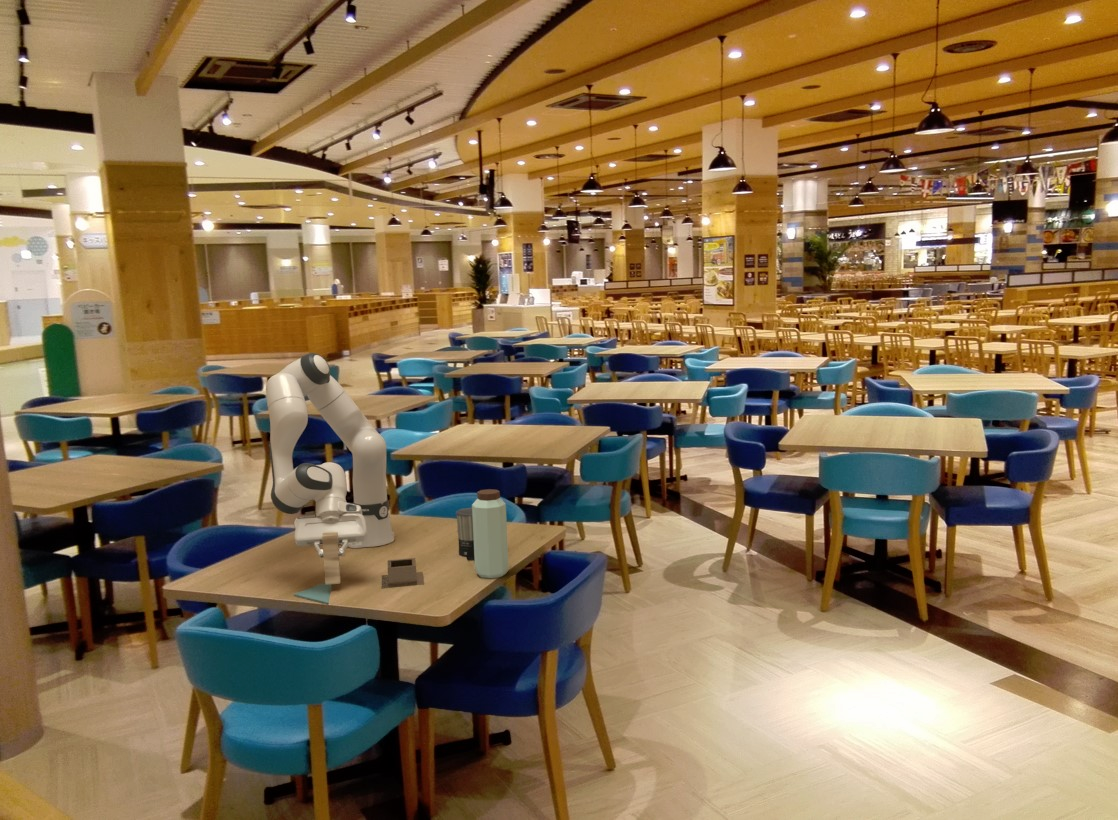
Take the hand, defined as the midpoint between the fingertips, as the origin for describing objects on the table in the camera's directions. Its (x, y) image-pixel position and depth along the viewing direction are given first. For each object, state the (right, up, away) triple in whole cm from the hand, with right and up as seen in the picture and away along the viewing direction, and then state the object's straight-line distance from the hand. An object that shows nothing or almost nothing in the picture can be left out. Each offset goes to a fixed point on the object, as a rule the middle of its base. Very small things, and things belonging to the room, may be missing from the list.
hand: (331, 555), depth 245 cm
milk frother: (+39, -5, +35) cm, 53 cm away
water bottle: (+44, -8, +13) cm, 47 cm away
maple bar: (0, -8, +2) cm, 8 cm away
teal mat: (0, -11, +2) cm, 11 cm away
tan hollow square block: (+19, -9, +8) cm, 22 cm away
